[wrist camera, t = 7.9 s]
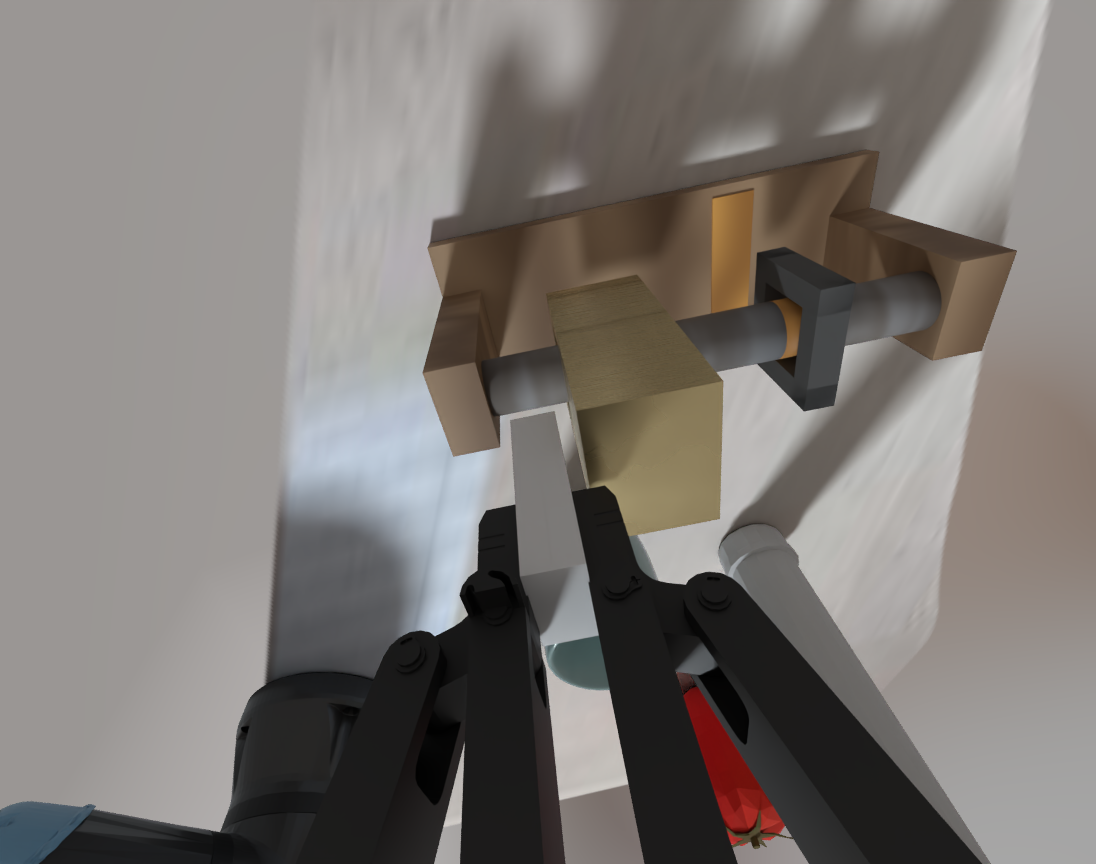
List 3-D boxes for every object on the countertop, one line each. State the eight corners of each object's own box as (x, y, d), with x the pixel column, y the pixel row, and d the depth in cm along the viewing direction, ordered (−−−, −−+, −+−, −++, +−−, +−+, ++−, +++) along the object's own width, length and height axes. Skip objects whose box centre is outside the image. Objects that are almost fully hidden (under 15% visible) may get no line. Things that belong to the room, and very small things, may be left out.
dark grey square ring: (750, 357, 24) (804, 411, 20) (757, 252, 21) (820, 289, 17) (775, 352, 24) (834, 405, 20) (784, 246, 21) (855, 282, 17)
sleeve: (565, 395, 24) (599, 542, 16) (545, 293, 21) (576, 410, 13) (645, 379, 24) (719, 518, 16) (637, 274, 21) (723, 381, 13)
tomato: (634, 720, 54) (669, 875, 44) (675, 655, 48) (728, 819, 37) (728, 722, 57) (783, 871, 46) (779, 661, 50) (858, 818, 39)
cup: (588, 476, 34) (617, 595, 26) (658, 526, 38) (703, 646, 29) (514, 538, 37) (519, 664, 29) (585, 580, 40) (608, 703, 32)
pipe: (717, 526, 38) (1125, 1312, 13) (797, 514, 38) (1351, 1277, 13) (713, 573, 41) (1037, 1280, 17) (786, 561, 41) (1220, 1251, 17)
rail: (476, 394, 30) (469, 500, 22) (429, 243, 25) (399, 309, 17) (838, 320, 29) (963, 402, 21) (866, 149, 24) (1044, 174, 16)
